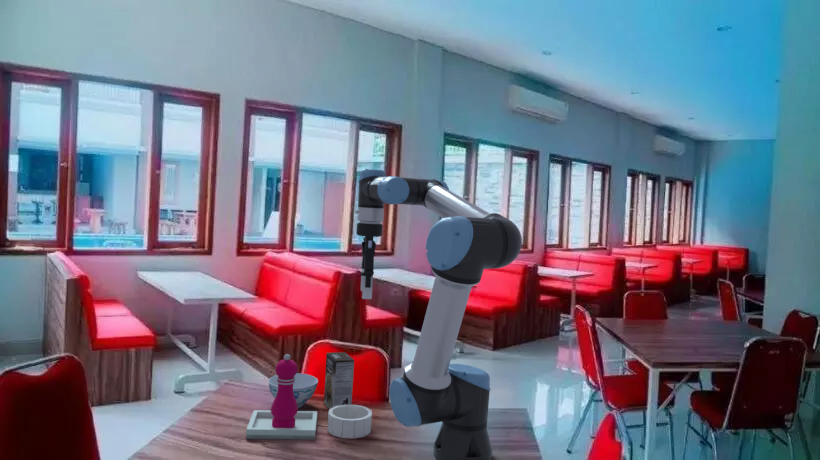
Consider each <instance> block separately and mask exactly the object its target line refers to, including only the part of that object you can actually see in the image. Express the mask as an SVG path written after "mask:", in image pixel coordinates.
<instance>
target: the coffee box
mask: <svg viewBox="0 0 820 460" xmlns="http://www.w3.org/2000/svg"><path fill="white" fill-rule="evenodd" d="M325 353H326V354H325V355H326V357H325V372H324V373H325V376H324V377H325V378H324V392H323V393H324V395H323V396H324V397H323V404H325V406H326V407H327V409H328V410H329V409H331V408H333V407H335V406H339V405H353V404H352V402H353V400H352V399H353V385H354V384H353V383H354V369H355V359H354V358H352V357H351V356H350V355H349V354H348V353H347V352H345V351H343V352H341V351H340V352H337V351H336V352H335V351H334V352H325Z"/></svg>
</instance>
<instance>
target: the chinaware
mask: <svg viewBox="0 0 820 460" xmlns="http://www.w3.org/2000/svg"><path fill="white" fill-rule="evenodd" d="M277 377H278V375H277V374H276V375H273V376H271V377H270V378H269V379H268V380H267V381H268V388H269V390H270V393H271V396H272V397H273V398H274V399H275V398H276V395H277V392H278V383H277ZM294 377H295V383H293V394H294V397H295V400H296V402H297V408H298V409H300V408H302V407H303V406H304V403H306V402H308V401H309V400H310V399H311V398H312V397H313V396H314V394H315V391H316V390H317V387H318V383H319V379H318V378H317V377H315V376H313V375H311V374H308V373H299V372H297V373H296V375H295V376H294Z"/></svg>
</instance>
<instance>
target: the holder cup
mask: <svg viewBox="0 0 820 460" xmlns="http://www.w3.org/2000/svg"><path fill="white" fill-rule="evenodd" d="M327 414H328V415H327V432H328V433H329V434H330V435H331V436H335V437H338V438H342V439H358V438H364V437H367V435H370V434H371V430H372V419H373V418H372V417H373V411H372V409H370V408H368V407H366V406H363V405H360V404H359V405H358V404H352V405H339V406H335V407H333V408H331V409H329V408H328V412H327Z"/></svg>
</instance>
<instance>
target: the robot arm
mask: <svg viewBox="0 0 820 460" xmlns="http://www.w3.org/2000/svg"><path fill="white" fill-rule="evenodd" d="M357 198H358V200H357V201H358V202H357V210H355V214H357V218H356V219H357V221H358V222H357V223H356V232H355V233H356V235H357V236H360V237H363V238H362V239H363V241H362V242H361V254H362V256H361V257H362V259H361V260H362V261H361V273H360V274H361V275H360V277H361V279H360V292H361V293H362V294H361V299H362V300H373V299H372V297H373V286H374V285H373V284H374V283H373V282H374V273H375V272H374V271H375V270H374V269H375V268H374V267H375V265H374V262H375V254H376V248H377V243H376V242H375V240H374V237H375V238H377V237H378V238H380V237H382V236H383V228H384V227H383V222H384V214H385V213H384V211H385V208H384V206H385V204H387V205H407V206H408V205H410V206H423V207H425V208H426V209H428V211H431V212H433V213H434V214H436V215H437V216H439V217H440V218H441V219H440V220H438V221H437V222H435V224H434V225H433V226H432V227H431V228H430V230H429V233H428V235H427V239H426V243H425V250H426V251H427V252H426V253H425V255H426V259H427V261H428V263H429V265H430V266H431V267H430V270H431V272H432V274H433V275H434V276H435V277H434V281H433V284H432V288H431V291H430V292H431V293H430V295H429V296H430V297H429V301H428V304H427V308H426V311H425V315H424V320H423V324H422V326H421V331H420V333H419V334H420V335H419V338H418V342H417V346H416V349H415V350H416V351H415V354H414V358H413V361H410V362H408V363H407V364H406V365H405V367H404V371H403V374H402V377H397V378H394V379H393V380H392V381H391V383H390V385H389V402H390V406H391V409H392V413H393V414H394V417H395V418H396V419H397V422H399V424H401V426H404V427H407V428H409V427H421V426H424V425H425V426H426V425H429V424H436V423H440V422H441V425H440V428H439V431H438V433H437V435H436V437H435V441H434V442H433V451H432V452H433V456H434V457H435V458H436V459H437V460H492V459H491V458H492V457H493V448H492V444H491V440H490V436H489V432H488V415H489V403H490V391H491V387H490V385H491V383H490V381H491V380H490V378H491V377H490V376H489V373H487V371H485V370H483V369H481V368H478V367H475V366H472V365H468V364H461V363H451V361H452V357H453V353H454V350H455V346H456V342H457V339H458V336H459V332H460V329H461V326H462V322H463V319H464V316H465V311H466V308H467V305H468V301H469V298H470V294H471V290H472V288H473V287H474V286H477V285H479V284H480V283H481V279H482V277H483V273H484V270H486V269H487V270H489V269H492V270H493V269H501V268H505V267H507V266H508V265H510V264H512V263H513V262H514V261H515V260H516V259H517V257H518V256H519V254H520V253H521V249H522V246H523V245H522V244H523V239H522V233H521V231H520V229H519V227H518V226H517V225H516V223H514V222H513V221H512V220H510V219H509V218H507V217H506V216H504V215H501V214H500V213H496V212H492V213H491V212H488V211H486V210H484V209H483V208H481V207H479V206H477V205H475V204H474V203H472V202H470V201H468V199H465V198H463V197H462V196H460V195H458V194H456V193H454V192H453V191H451V190H450V188H449V186H448V184H447V182H445V181H444V180H439V179H435V178H434V179H425V178H413V177H400V176H397V175H395V176H394V175H389V176H388V175H387V176H386V171H385V170H383V169H376V168H375V169H373V168H362V169H361V170H360V173H359V180H358V197H357Z"/></svg>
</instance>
